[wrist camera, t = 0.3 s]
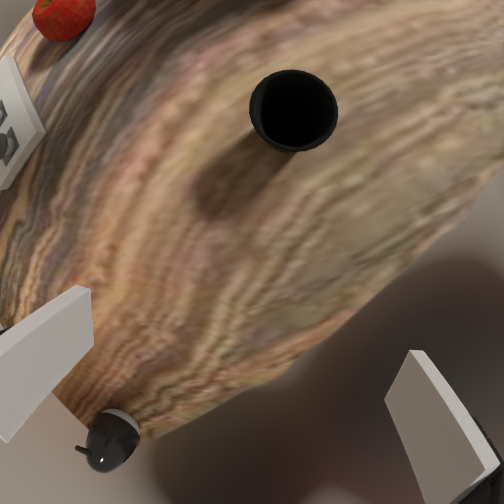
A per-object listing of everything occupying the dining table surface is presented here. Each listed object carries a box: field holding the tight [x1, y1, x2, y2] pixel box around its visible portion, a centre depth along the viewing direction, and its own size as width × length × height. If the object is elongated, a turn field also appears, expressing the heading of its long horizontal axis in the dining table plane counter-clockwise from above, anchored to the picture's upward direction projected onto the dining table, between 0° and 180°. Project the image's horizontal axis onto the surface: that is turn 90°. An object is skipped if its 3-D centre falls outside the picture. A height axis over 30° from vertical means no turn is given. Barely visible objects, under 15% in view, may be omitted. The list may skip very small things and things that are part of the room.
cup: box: [249, 70, 338, 152], centre depth 28 cm, size 8×8×12 cm
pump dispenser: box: [75, 409, 140, 473], centre depth 41 cm, size 10×10×15 cm
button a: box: [0, 133, 16, 160], centre depth 31 cm, size 5×5×5 cm
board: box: [0, 56, 48, 190], centre depth 33 cm, size 14×24×3 cm, turn 35°
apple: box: [32, 0, 96, 41], centre depth 24 cm, size 11×11×11 cm
